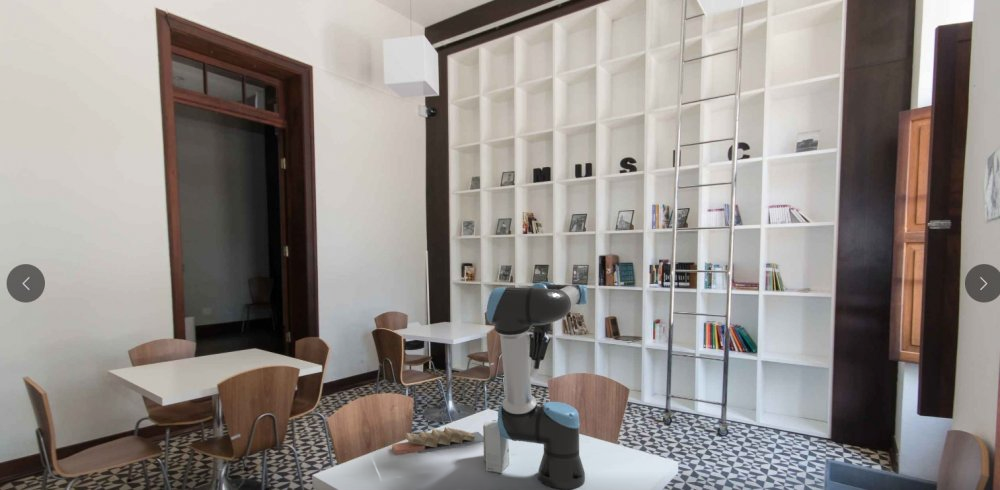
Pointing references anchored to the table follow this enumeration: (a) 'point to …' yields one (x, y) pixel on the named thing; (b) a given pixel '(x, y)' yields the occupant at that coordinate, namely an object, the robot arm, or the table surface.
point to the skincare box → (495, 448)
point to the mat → (454, 444)
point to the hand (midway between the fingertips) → (533, 376)
